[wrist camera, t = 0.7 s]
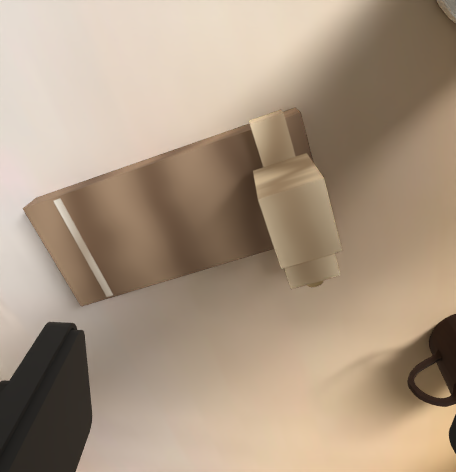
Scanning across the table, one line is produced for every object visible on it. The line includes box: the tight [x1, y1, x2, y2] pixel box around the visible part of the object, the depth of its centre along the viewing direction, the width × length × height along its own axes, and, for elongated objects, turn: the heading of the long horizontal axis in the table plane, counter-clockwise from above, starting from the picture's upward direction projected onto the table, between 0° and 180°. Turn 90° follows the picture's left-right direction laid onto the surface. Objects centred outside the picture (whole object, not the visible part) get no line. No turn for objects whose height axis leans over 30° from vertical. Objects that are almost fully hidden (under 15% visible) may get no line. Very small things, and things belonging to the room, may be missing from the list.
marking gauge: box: [249, 110, 342, 289], centre depth 30 cm, size 4×14×10 cm, turn 19°
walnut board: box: [23, 108, 314, 306], centre depth 34 cm, size 23×10×3 cm, turn 109°
